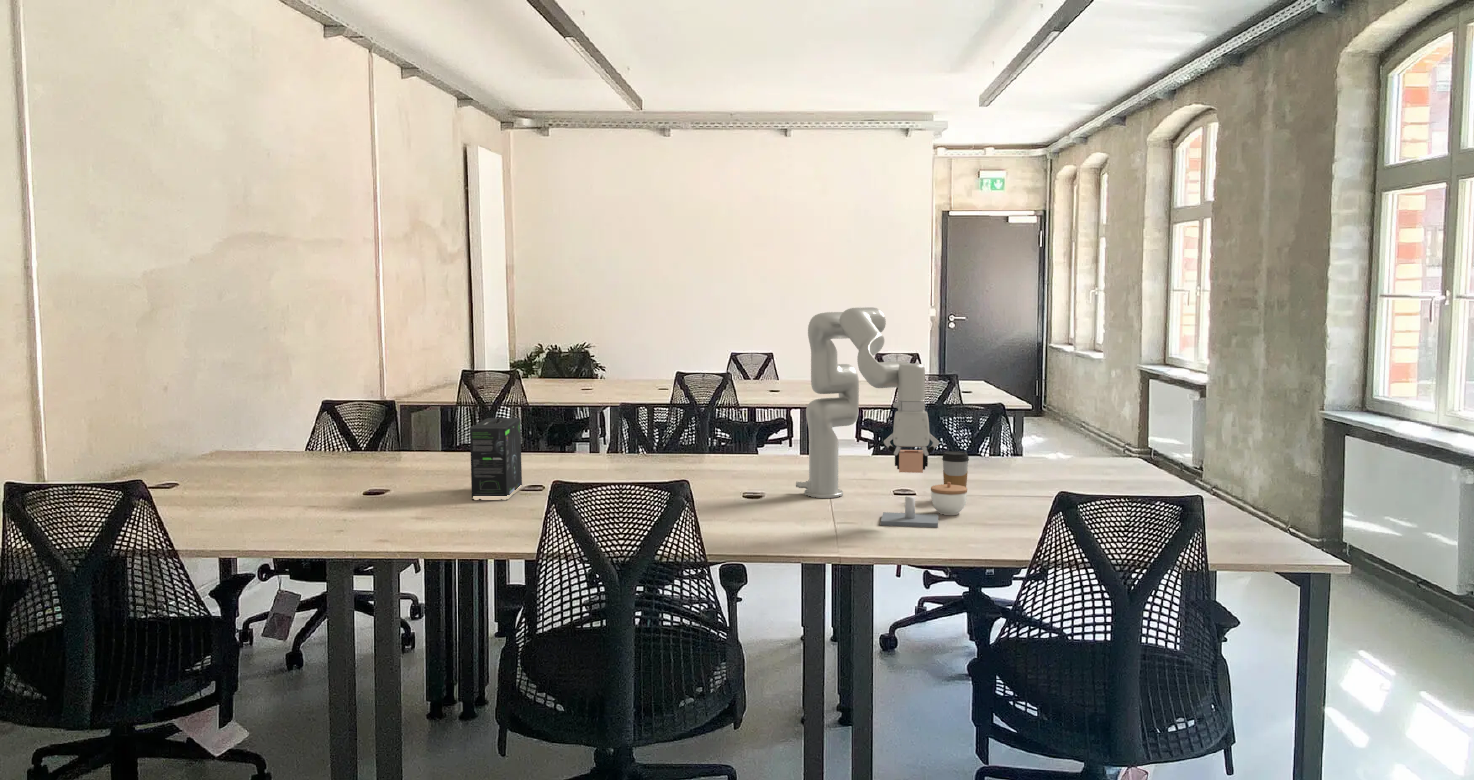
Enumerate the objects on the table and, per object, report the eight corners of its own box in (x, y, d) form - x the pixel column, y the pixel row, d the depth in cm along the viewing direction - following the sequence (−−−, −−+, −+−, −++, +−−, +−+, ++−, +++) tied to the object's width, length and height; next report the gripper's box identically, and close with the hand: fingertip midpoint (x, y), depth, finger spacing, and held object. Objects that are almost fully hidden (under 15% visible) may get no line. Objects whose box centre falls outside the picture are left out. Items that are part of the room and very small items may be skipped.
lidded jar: (964, 518, 310) (965, 486, 309) (928, 515, 313) (928, 484, 312) (968, 510, 320) (969, 480, 319) (933, 508, 323) (933, 478, 322)
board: (880, 525, 301) (880, 500, 300) (883, 516, 312) (883, 492, 312) (937, 527, 297) (938, 502, 297) (938, 518, 309) (938, 494, 308)
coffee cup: (968, 502, 332) (969, 455, 330) (941, 501, 333) (942, 454, 332) (968, 497, 340) (968, 451, 338) (941, 496, 341) (942, 450, 340)
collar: (899, 472, 300) (899, 453, 300) (900, 468, 307) (900, 449, 306) (922, 472, 299) (922, 453, 299) (923, 469, 306) (923, 450, 305)
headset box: (507, 500, 337) (505, 420, 335) (470, 500, 338) (468, 420, 335) (523, 487, 360) (521, 412, 357) (488, 487, 360) (486, 412, 357)
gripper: (880, 407, 300) (880, 470, 301) (942, 408, 296) (941, 471, 298) (881, 405, 307) (881, 466, 308) (942, 405, 304) (942, 467, 305)
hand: (911, 468), depth 303 cm, fingers closed on collar, 6 cm apart
